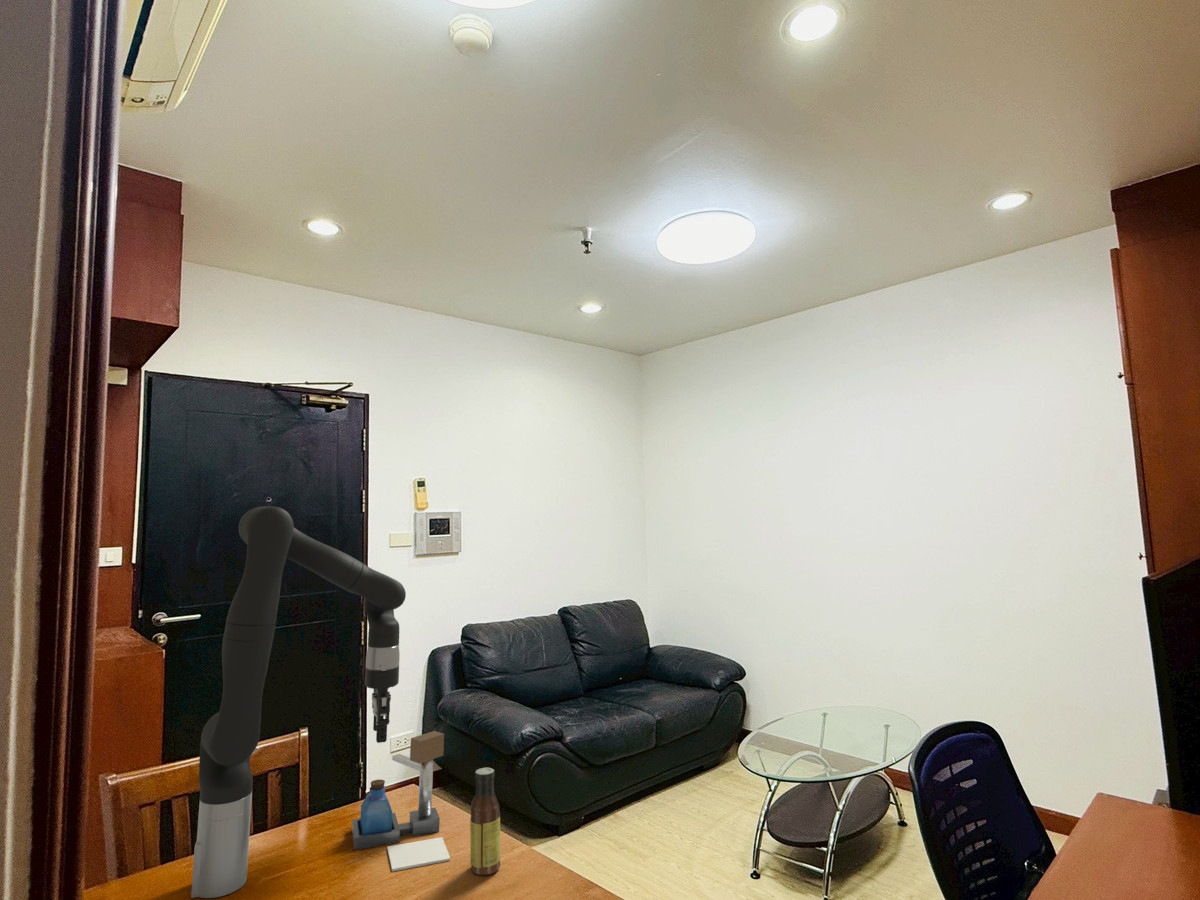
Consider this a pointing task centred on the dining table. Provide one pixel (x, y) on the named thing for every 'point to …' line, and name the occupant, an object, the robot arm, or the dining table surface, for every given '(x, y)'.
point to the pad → (417, 854)
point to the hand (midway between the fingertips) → (379, 736)
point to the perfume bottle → (376, 810)
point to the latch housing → (396, 830)
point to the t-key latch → (424, 765)
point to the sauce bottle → (485, 825)
